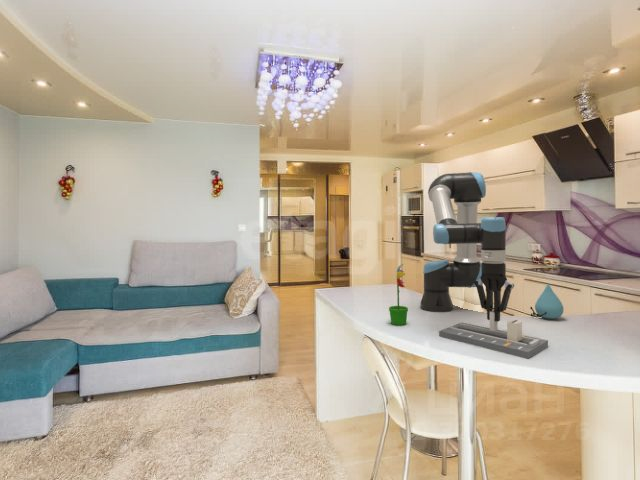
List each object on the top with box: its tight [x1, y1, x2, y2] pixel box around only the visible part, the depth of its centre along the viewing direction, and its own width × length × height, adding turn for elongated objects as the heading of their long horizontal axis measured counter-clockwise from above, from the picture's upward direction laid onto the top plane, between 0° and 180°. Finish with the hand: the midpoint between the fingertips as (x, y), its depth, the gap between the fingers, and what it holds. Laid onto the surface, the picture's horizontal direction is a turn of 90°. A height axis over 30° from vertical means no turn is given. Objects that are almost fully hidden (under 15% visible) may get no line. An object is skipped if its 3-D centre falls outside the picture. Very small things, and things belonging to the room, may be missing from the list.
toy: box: [530, 283, 564, 320], centre depth 149 cm, size 15×12×15 cm
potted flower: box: [388, 263, 409, 326], centre depth 146 cm, size 9×8×25 cm
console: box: [438, 322, 549, 360], centre depth 122 cm, size 16×30×3 cm, turn 39°
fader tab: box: [506, 319, 523, 342], centre depth 116 cm, size 4×3×6 cm
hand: (493, 329), depth 121 cm, fingers closed
